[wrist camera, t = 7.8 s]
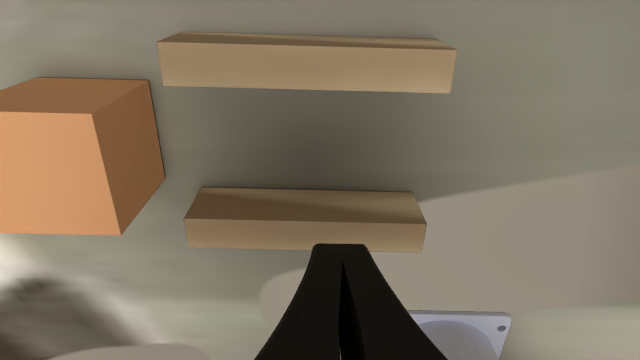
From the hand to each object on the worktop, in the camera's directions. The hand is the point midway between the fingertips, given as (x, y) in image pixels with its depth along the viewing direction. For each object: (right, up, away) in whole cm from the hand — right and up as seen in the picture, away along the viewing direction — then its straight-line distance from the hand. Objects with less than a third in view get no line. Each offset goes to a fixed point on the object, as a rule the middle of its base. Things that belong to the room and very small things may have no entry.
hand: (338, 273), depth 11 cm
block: (-11, +5, +9) cm, 15 cm away
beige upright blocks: (-1, +5, +9) cm, 10 cm away
